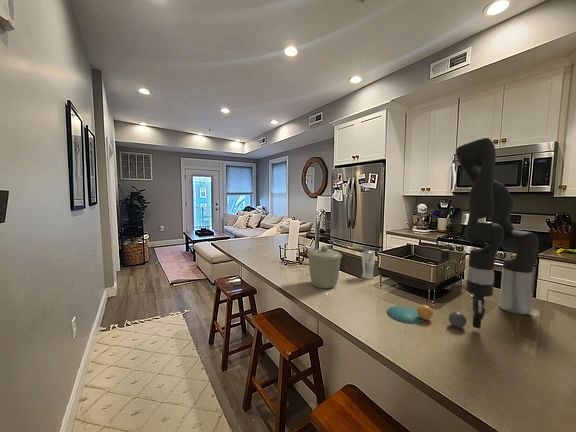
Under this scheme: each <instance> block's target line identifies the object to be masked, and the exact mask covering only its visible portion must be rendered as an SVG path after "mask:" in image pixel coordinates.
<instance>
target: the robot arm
mask: <svg viewBox="0 0 576 432" xmlns="http://www.w3.org/2000/svg"><path fill="white" fill-rule="evenodd" d="M455 155H456V158H457V161H458V164H459V165H460V167H461V168H462V170H463V171H464V173H465V174H466V176H467V177H468V179H469V180H470V182H471V184H472V186H471V188H470V190H469V194H468V208H469V212H468V213H469V214H468V218H467V219H468V220H467V222H466V225H465V229H464V237H465V239H466V241H468V242H469V243H472V244H486V245H485V246H484V247H482V248H474V249H471V250H470V251H469V255H468V268H467V273H466V284H465V286H466V287H465V290H466V292H468V293H469V294H470V295H471V296H470V300H471V311H472V312H471V313H472V327H473V328H475V329H481V327H482V320H483V319H484V316H485V312H486V306H487V300H486V298H489V297H492V296H493V295H494V287H495V285H494V283H495V259H496V255H497V252H498V250H499V247H501V248H502V249H503V250H504V251H507V252H512V253H515V257H514V259H506V260H505V259H504V261H503V262H502V268H501V269H502V271H501V282H500V283H501V284H500V294H499V308H501V309H502V310H504V311H506V312H509V313H511V314H515V315H529V316H531V311H532V310H531V309H532V303H533V302H532V301H533V291H532V280H533V272H534V268H535V265H536V261H537V255H538V252H539V251H538V250H539V245H540V243H539V240H540V239H539V237H538V235H537V234H536V233H534V232H530V231H523V230H519V229H515V227H514V226H513V224H512V222H511V219H510V218H511V214H512V212H513V210H514V206H515V205H514V200H513V197H512V195H511V194H510V193H511V192H510V191H509V190H508V188H507V186H505V184H503V183H501V182H499V181H497V180H496V179H495V178H494V177H495V170H496V157H497V154H496V146H495V143H494V142H493V141H492V139H490V138H489V137H487V136H485V137H480V138H479V139H476V140H475V139H474V140H472V141H470V142H467V143H464V144H462V145H460V146H458V147H457V148H456V150H455ZM480 165H481V168H479V167H478V166H480ZM486 218H489V219H490V222H479V220H481V219H486Z"/></svg>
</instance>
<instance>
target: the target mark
mask: <svg viewBox="0 0 576 432" xmlns="http://www.w3.org/2000/svg"><path fill="white" fill-rule="evenodd" d="M386 314H387V316H389V317H390V318H392V319H393V320H395V321H397V322H399V323H400V322H401V323H404V324H414V325H417V324H422V323H424V322H425V321H426V320H424V319H422V318H420V317H419V315H418V313H417V309H415V308H411V307H407V306H402V305H400V306H398V305H397V306H396V305H394V306H391V307H389V308H387V309H386Z"/></svg>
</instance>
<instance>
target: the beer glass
mask: <svg viewBox="0 0 576 432" xmlns="http://www.w3.org/2000/svg"><path fill="white" fill-rule="evenodd" d="M361 254H362V255H361V265H362V271H363V272H362V275H361V278H362V279H364V280H373V279H374V268H375V262H376V255H375V254H376V253H375V251H373V250H362V253H361Z"/></svg>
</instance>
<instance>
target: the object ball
mask: <svg viewBox="0 0 576 432" xmlns="http://www.w3.org/2000/svg"><path fill="white" fill-rule="evenodd" d="M416 310H417V313H418V315H419V317H420V318H422V319H424V320H425V321H428V320H431V319H432V318H433V316H434V310H433V308H432V307H431V306H429V305H427V304H421V305H419V306H418V307H417V309H416Z"/></svg>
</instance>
